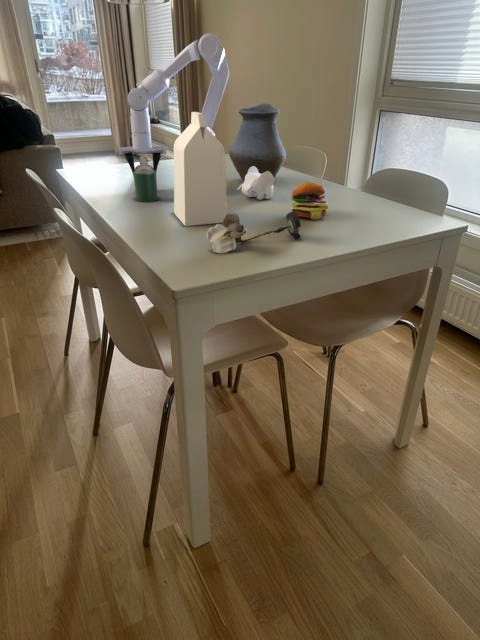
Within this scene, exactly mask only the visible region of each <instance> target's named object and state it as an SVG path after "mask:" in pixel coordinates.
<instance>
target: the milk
mask: <svg viewBox="0 0 480 640" xmlns="http://www.w3.org/2000/svg"><path fill="white" fill-rule="evenodd" d="M190 115H191V117H190V124H189V125H187V127H186V128H185V129H184V130H183V131H182V132H181V133H180V135H179V136H178V137H177V138H176V139H175V141H174V144H173V207H174V208H173V212H174V213H173V214H174V215H175V216H176V217H177V218H178V220H179V221H180V222H181V223H182V224H183V225H184V226H185V227H189V226H191V227H192V226H201V225H210V224H223V220H224V218H225V215H226V214H228V203H227V201H228V200H227V180H226V179H227V176H226V175H227V173H226V152H225V147H224V145H223V144H222V142H221V141H220V140H218V138H217V137H216V133H215V132H214V130H213V129H212V130H211V129H210V128H209V127H207V128H206V127H205V121H204V114H202V113H201V112H198V111H191V114H190Z"/></svg>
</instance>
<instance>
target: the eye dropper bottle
mask: <svg viewBox="0 0 480 640" xmlns="http://www.w3.org/2000/svg"><path fill="white" fill-rule="evenodd" d="M140 155H141V156H139V157H138V158H139V160H138V161H139V165H137V166H135V170H140V169H151V170H153V165H150V164H148V157H147V156H146V154H143V153H142V154H140Z"/></svg>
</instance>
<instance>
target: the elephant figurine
mask: <svg viewBox="0 0 480 640" xmlns="http://www.w3.org/2000/svg"><path fill="white" fill-rule="evenodd" d="M275 182H276V178H275V179H274V177H273V175H272V174H271V173H270V172H269V171H266V172H264V173H262V174H260V173H259V172H258V169H257V168H256V167H255V166H252V167H250V168H249V170H248V173H247V174H246V176H245V181H243V183H241V184H240V186H238V188H237V189H236V191H239V190H240V189H241V193H242V195H244V196H247V197H248V198H256V200H259V201H262V200H264V199H265V200H270V199H271V197H272V195H273V192H274V183H275Z"/></svg>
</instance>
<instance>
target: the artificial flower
mask: <svg viewBox="0 0 480 640" xmlns="http://www.w3.org/2000/svg"><path fill="white" fill-rule="evenodd" d="M285 218H286V221H287V226H283V227H278V228H277V229H274V230H270V231H266V232H264V233H260V234H257V235H255V236H252V237H251V238H247V239H242V237H243V236H244V235H245V234H246V233H247V231H248V229H249V227H246V228H245V227H244V225H243V224H241V222H240V221H241V220H240V216H239V214H237V213H231V214H230V213H227V214H226V215H225V218H224V220H223V222H222V223H215V225H214V226H210V227H209V228H208V230H207V231H206V240H207V241H208V242H209V243H213V244H212V249H213V252H214V253H217V254H227V253H228V252H229V251H235V250H236V248H237V244H238V243H239V244H240V243H242V244H243V243H246V242H248V241H252V240H255V239H257V238H260V237H262V236H266V235H269V234H273V233H274V234H276V233H277V234H279V233H282V232H283V231H285V230H287V232H288V234H289V236H290V237H292V238H294V239H297V240H298V239H300V238H301V237H302V234H301V233H299V228H301V227H302V224H301V220H300V216H298V215H297V214H296V212H294V211H292V210H291V212H290V211H289V212H288V213H286V217H285ZM244 228H245V229H244Z"/></svg>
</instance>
